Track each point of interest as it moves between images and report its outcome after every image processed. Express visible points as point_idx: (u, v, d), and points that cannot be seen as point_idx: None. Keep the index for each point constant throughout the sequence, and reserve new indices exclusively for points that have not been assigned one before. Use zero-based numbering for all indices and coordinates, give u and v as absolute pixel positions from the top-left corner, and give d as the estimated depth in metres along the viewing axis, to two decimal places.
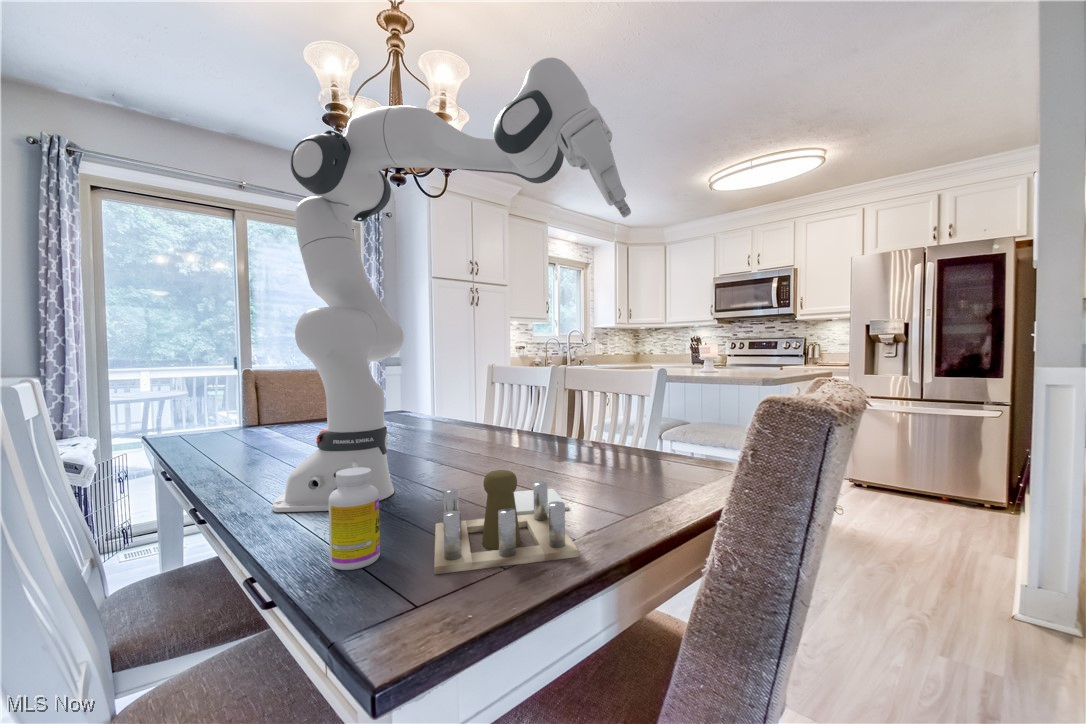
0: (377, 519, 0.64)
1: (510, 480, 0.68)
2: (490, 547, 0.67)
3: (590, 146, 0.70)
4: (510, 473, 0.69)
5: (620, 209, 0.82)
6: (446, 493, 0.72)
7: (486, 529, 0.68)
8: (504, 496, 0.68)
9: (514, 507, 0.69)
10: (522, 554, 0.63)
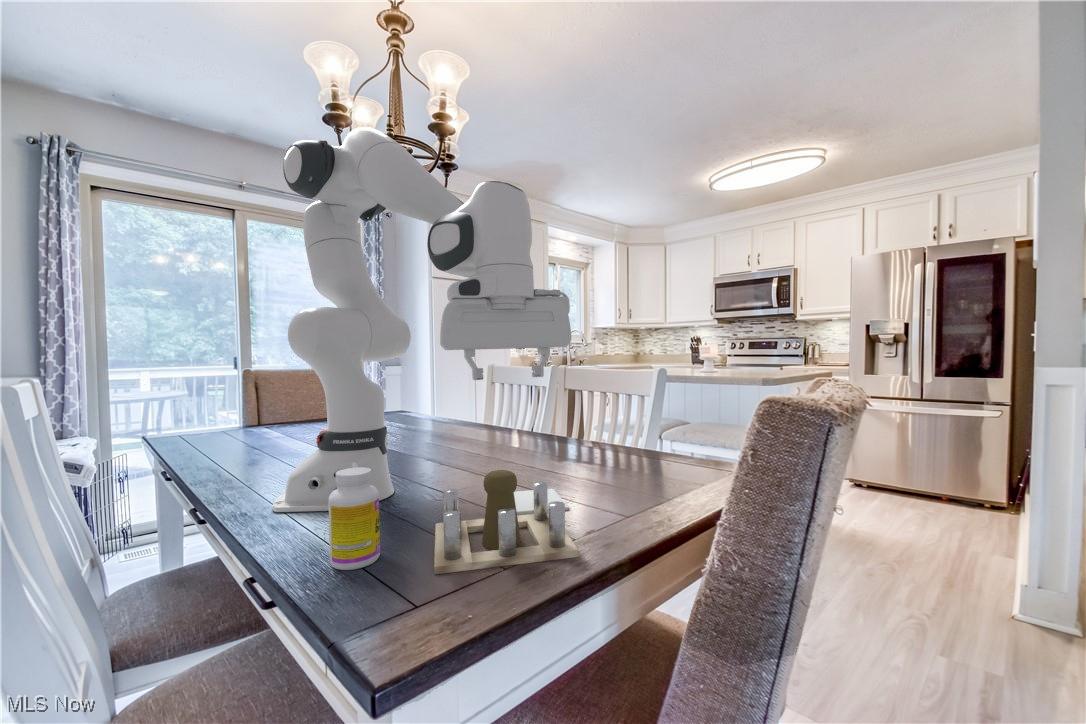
0: (377, 519, 0.64)
1: (510, 480, 0.68)
2: (490, 547, 0.67)
3: None
4: (510, 473, 0.69)
5: (532, 368, 0.71)
6: (446, 493, 0.72)
7: (486, 529, 0.68)
8: (504, 496, 0.68)
9: (514, 507, 0.69)
10: (522, 554, 0.63)
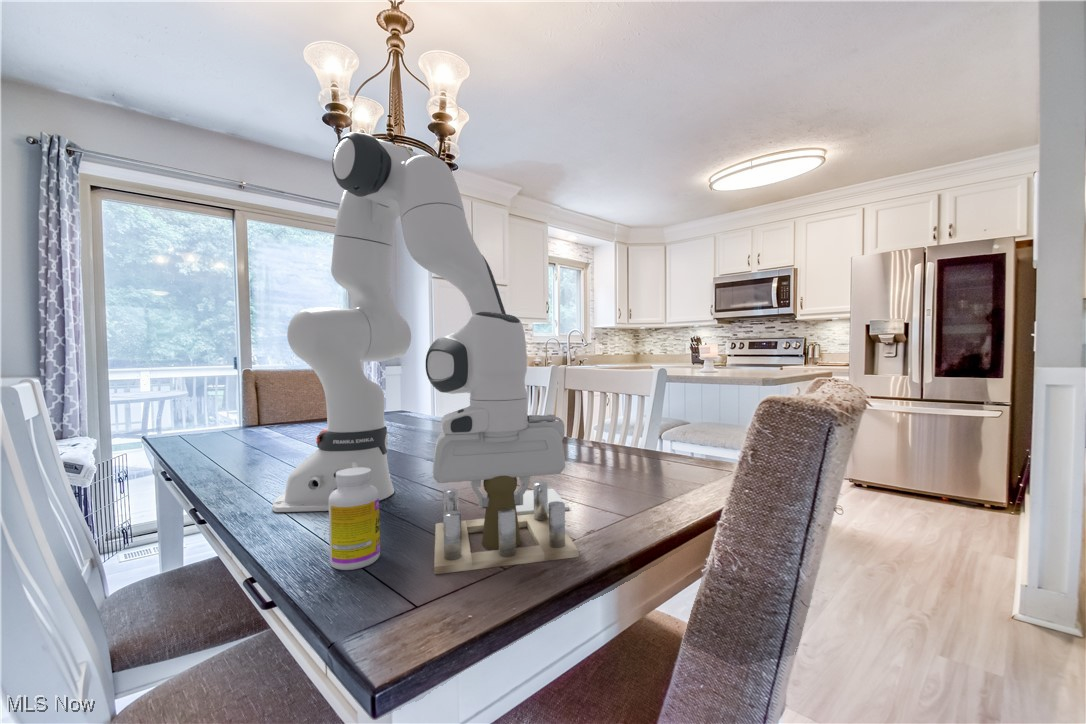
0: (377, 519, 0.64)
1: (510, 480, 0.68)
2: (490, 547, 0.67)
3: None
4: None
5: None
6: (446, 493, 0.72)
7: (486, 529, 0.68)
8: (504, 495, 0.68)
9: (514, 507, 0.69)
10: (522, 554, 0.63)
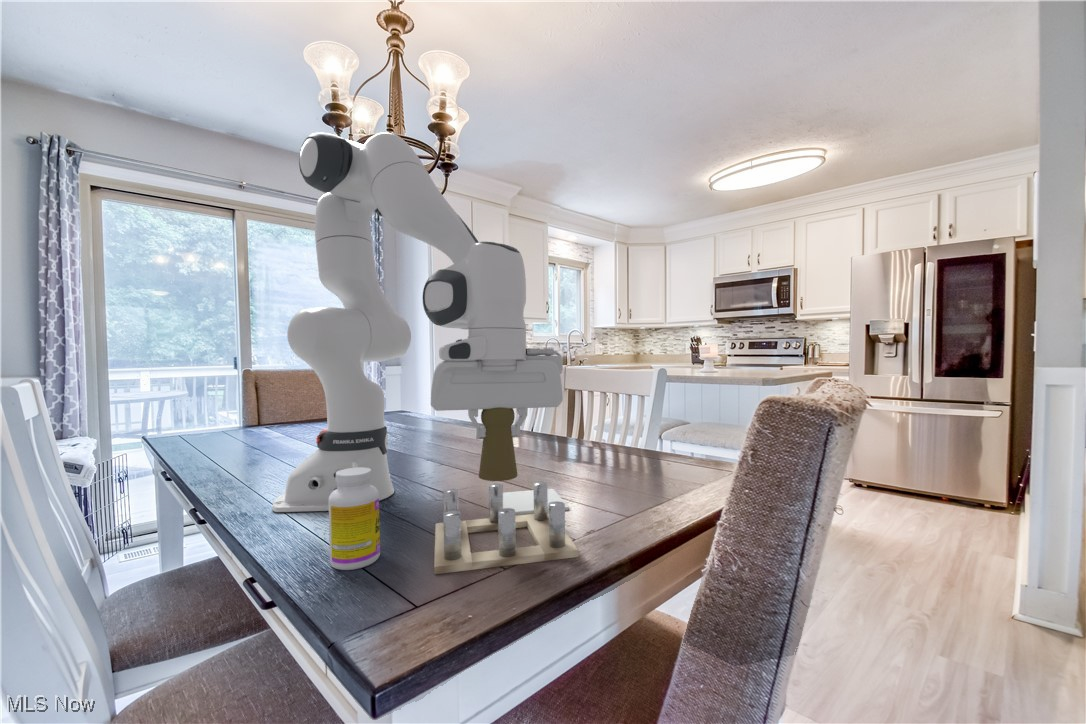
0: (377, 519, 0.64)
1: (508, 412, 0.68)
2: (487, 478, 0.67)
3: None
4: None
5: None
6: (446, 493, 0.72)
7: (483, 461, 0.68)
8: (502, 427, 0.68)
9: (511, 440, 0.69)
10: (522, 554, 0.63)
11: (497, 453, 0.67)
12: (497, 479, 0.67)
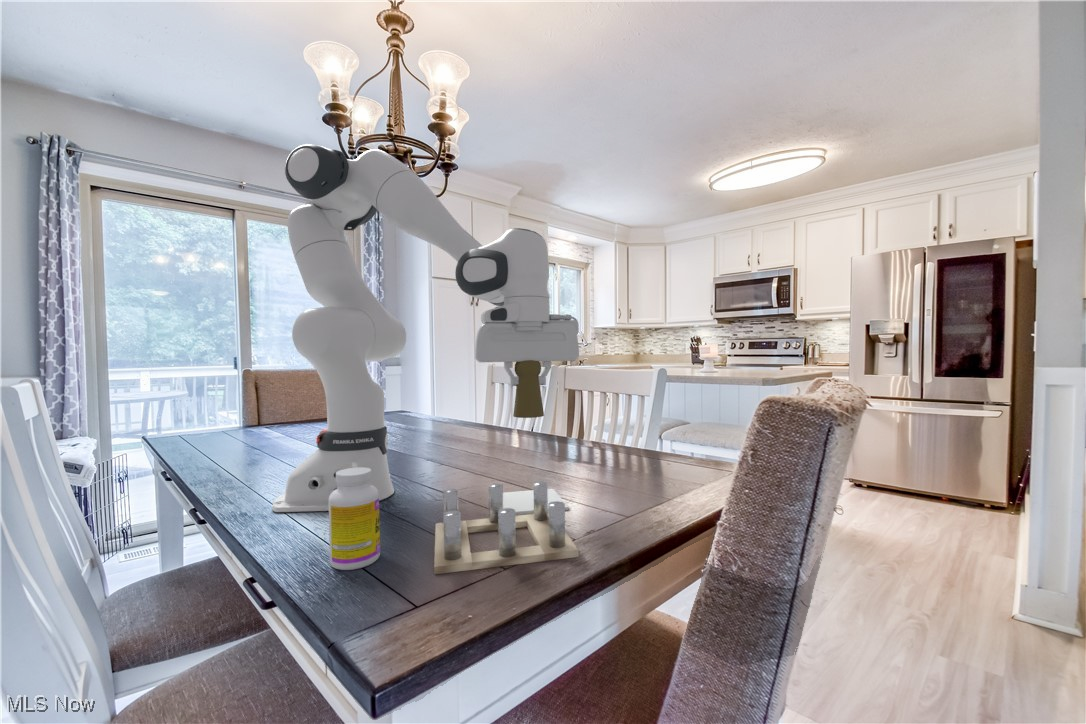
0: (377, 519, 0.64)
1: (536, 364, 0.86)
2: (520, 416, 0.85)
3: (475, 345, 0.86)
4: None
5: None
6: (446, 493, 0.72)
7: (517, 403, 0.86)
8: (531, 376, 0.86)
9: (539, 386, 0.87)
10: (522, 554, 0.63)
11: (528, 396, 0.85)
12: (529, 416, 0.85)
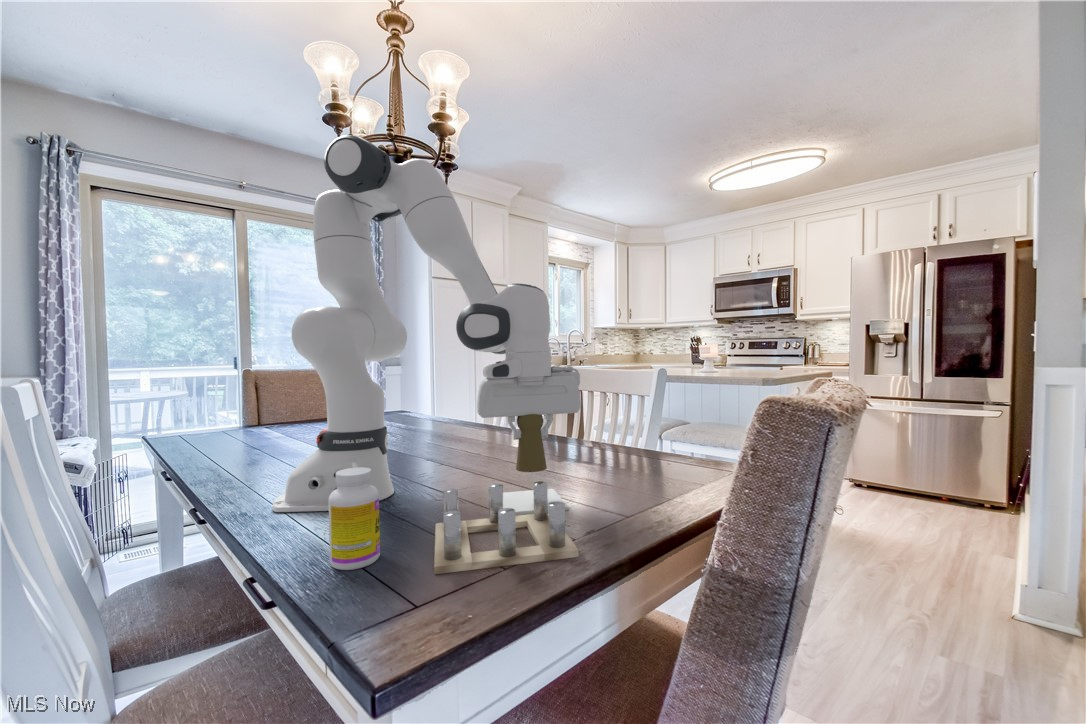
0: (377, 519, 0.64)
1: (538, 418, 0.86)
2: (523, 470, 0.85)
3: None
4: None
5: None
6: (446, 493, 0.72)
7: (520, 456, 0.86)
8: (534, 430, 0.86)
9: (541, 440, 0.87)
10: (522, 554, 0.63)
11: (531, 450, 0.85)
12: (532, 470, 0.85)
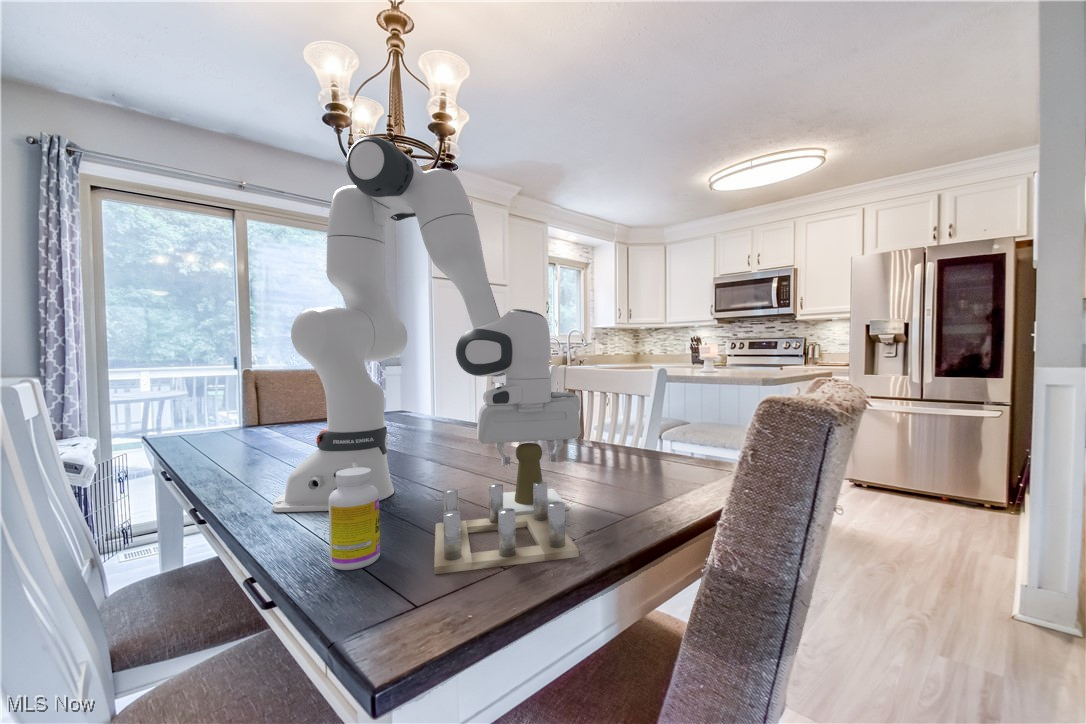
0: (377, 519, 0.64)
1: (537, 450, 0.86)
2: (522, 502, 0.86)
3: (477, 425, 0.86)
4: (537, 445, 0.87)
5: None
6: (446, 493, 0.72)
7: (518, 488, 0.86)
8: (533, 462, 0.86)
9: (540, 471, 0.87)
10: (522, 554, 0.63)
11: (530, 483, 0.86)
12: (530, 503, 0.85)
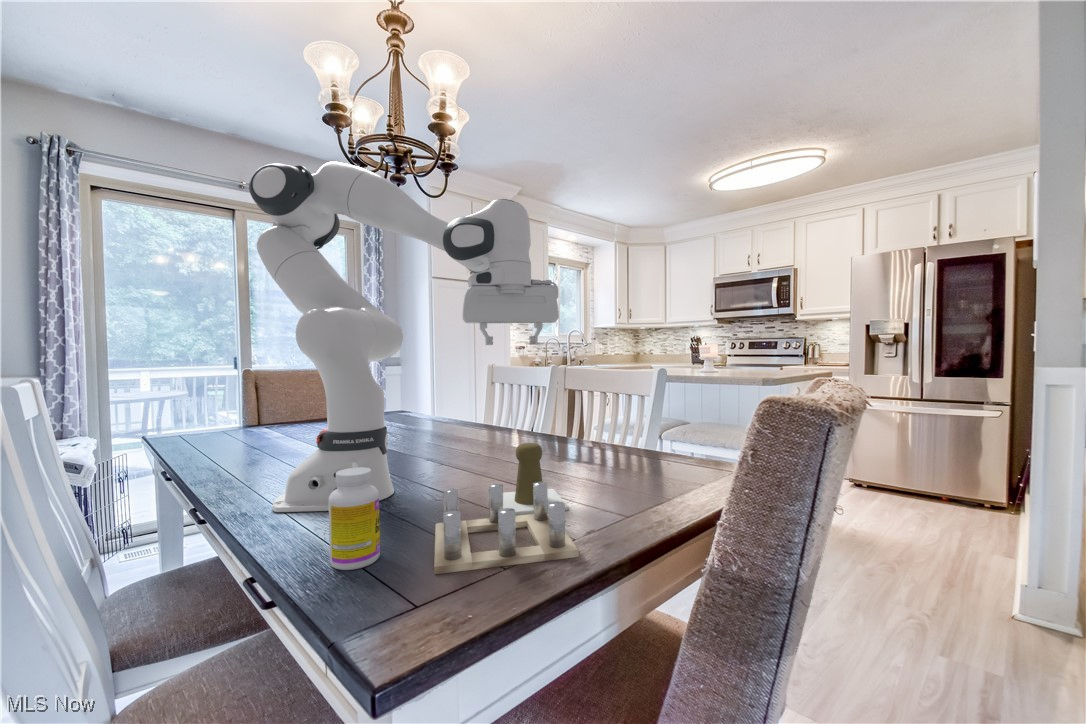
0: (377, 519, 0.64)
1: (537, 450, 0.86)
2: (522, 502, 0.86)
3: None
4: (537, 445, 0.87)
5: (529, 338, 0.96)
6: (446, 493, 0.72)
7: (518, 488, 0.86)
8: (533, 462, 0.86)
9: (540, 471, 0.87)
10: (522, 554, 0.63)
11: (530, 483, 0.86)
12: (530, 503, 0.85)
